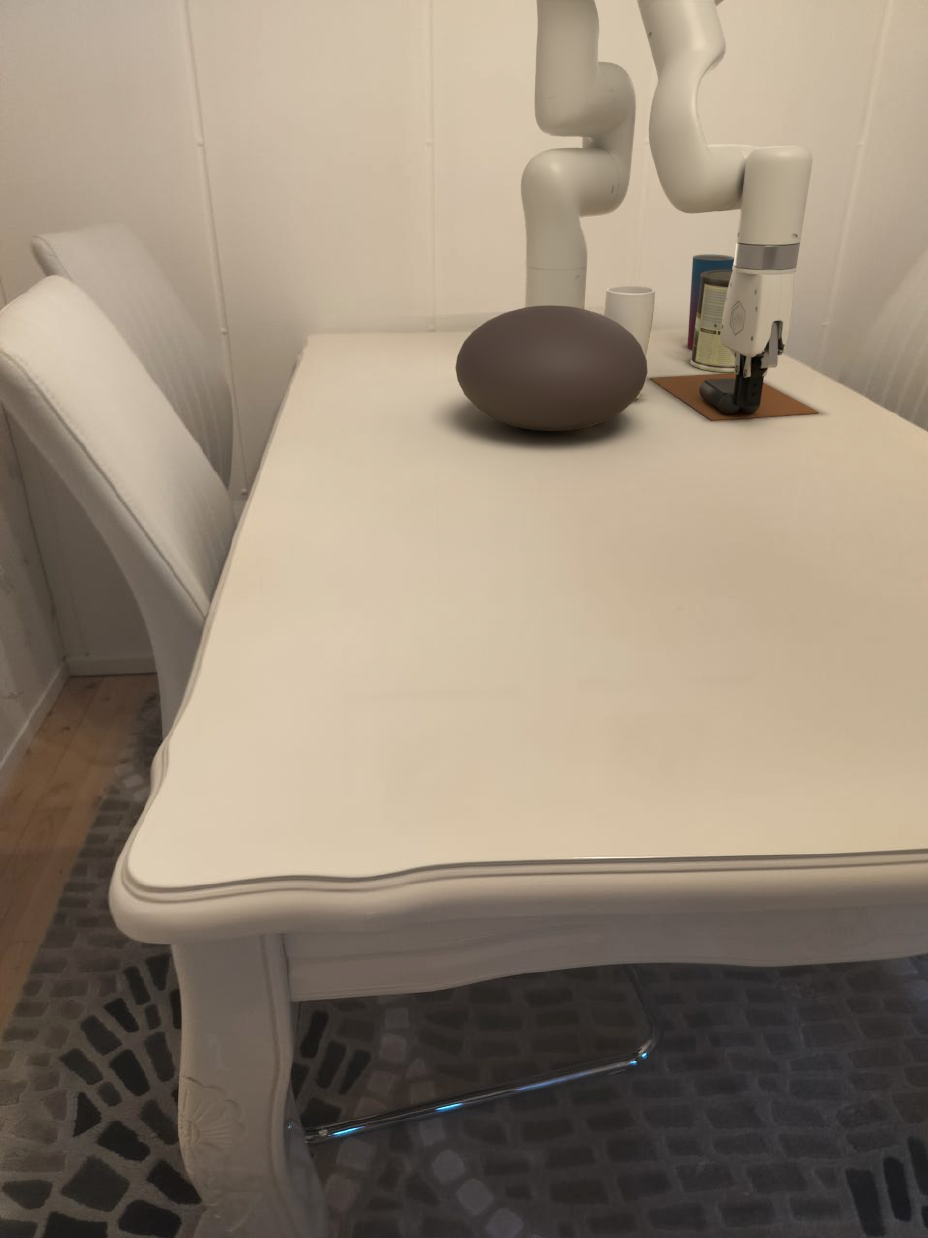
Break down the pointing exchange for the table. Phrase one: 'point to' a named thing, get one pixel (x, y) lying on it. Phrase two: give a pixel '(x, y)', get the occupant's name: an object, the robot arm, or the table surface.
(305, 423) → the table surface
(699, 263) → the cup
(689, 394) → the mouse pad
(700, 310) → the coffee can
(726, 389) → the mouse
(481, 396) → the flattened ellipsoid
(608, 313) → the drinking glass
